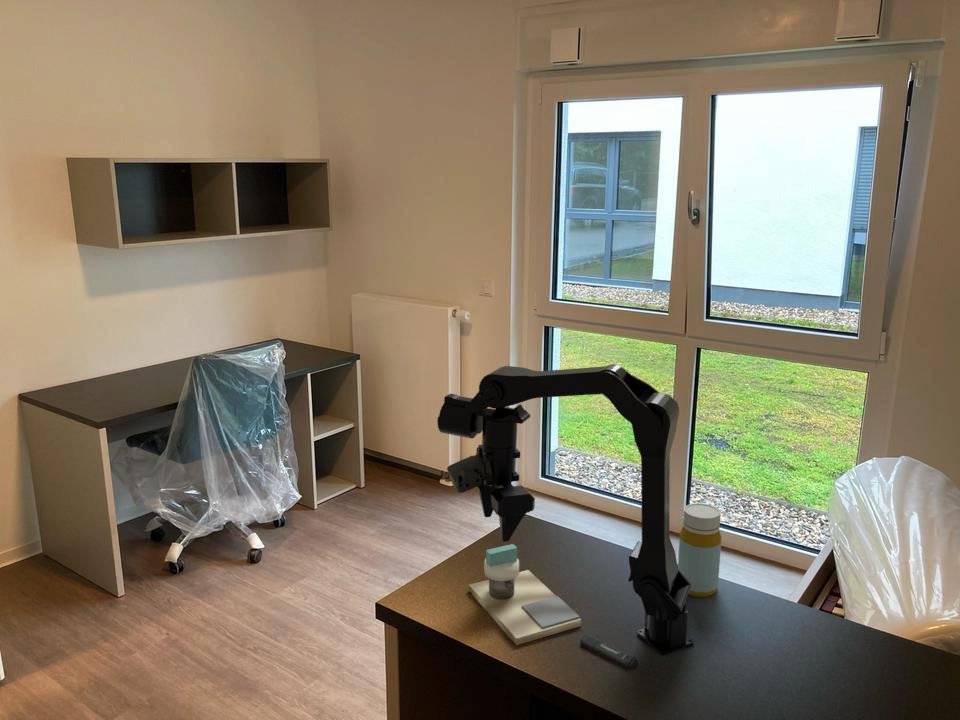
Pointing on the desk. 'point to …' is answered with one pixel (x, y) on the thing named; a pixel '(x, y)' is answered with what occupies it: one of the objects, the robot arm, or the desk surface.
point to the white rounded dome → (502, 563)
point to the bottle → (700, 548)
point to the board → (524, 607)
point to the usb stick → (609, 651)
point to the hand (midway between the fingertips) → (496, 528)
